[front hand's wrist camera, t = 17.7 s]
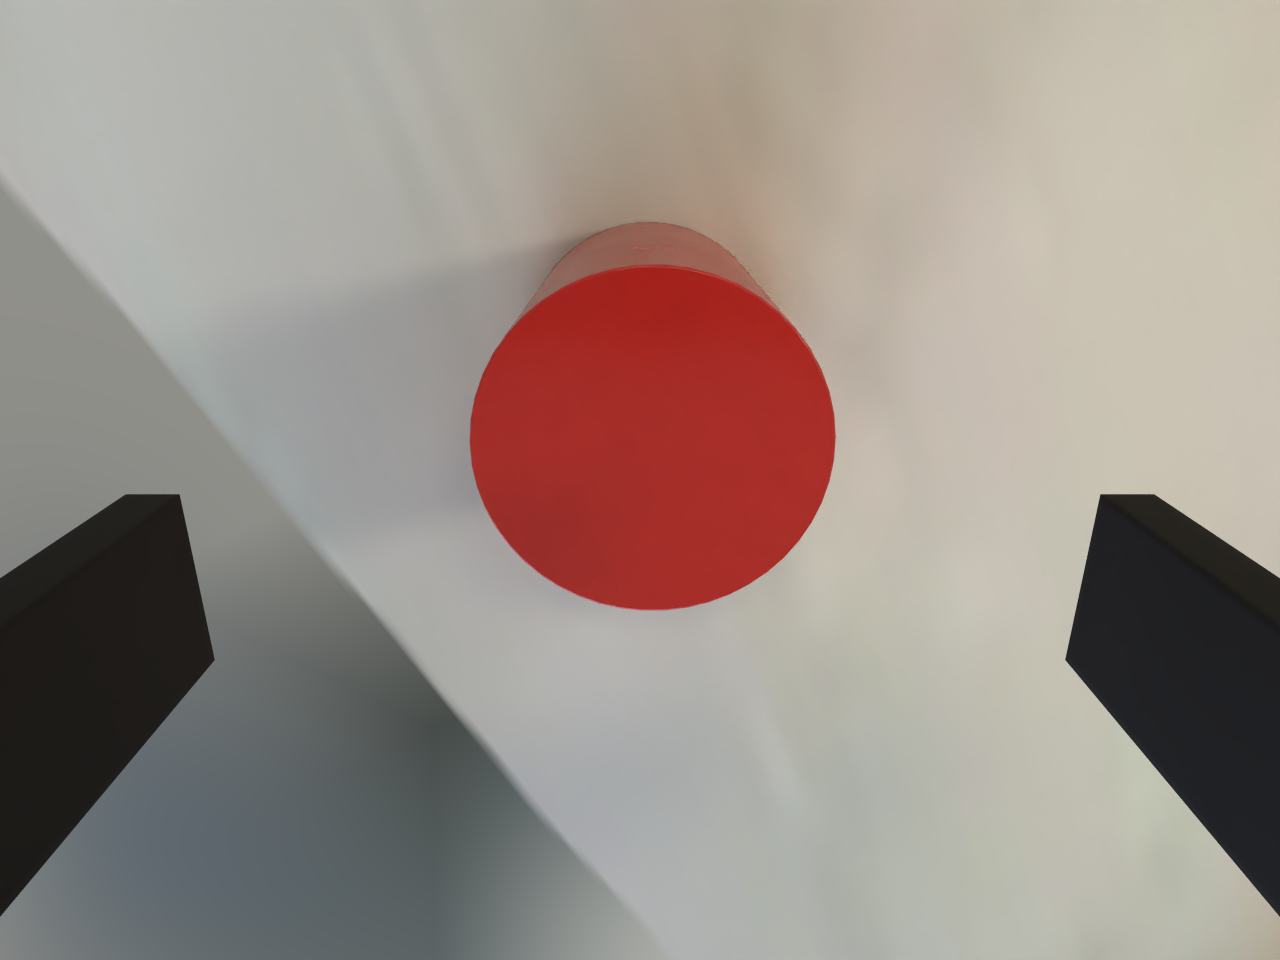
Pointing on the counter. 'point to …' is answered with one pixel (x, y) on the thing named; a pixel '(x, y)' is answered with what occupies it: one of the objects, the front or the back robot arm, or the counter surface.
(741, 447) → the tin
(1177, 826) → the counter surface
